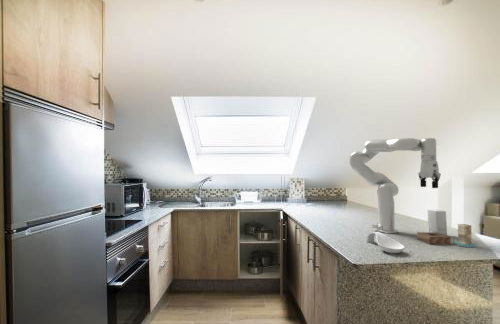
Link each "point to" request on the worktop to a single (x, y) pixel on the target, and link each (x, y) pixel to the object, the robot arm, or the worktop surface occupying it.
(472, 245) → the teal rubber pad
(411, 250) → the worktop surface
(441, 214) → the skincare box
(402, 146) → the robot arm
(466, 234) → the maple peg
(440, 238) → the walnut socket block
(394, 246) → the spoon rest
